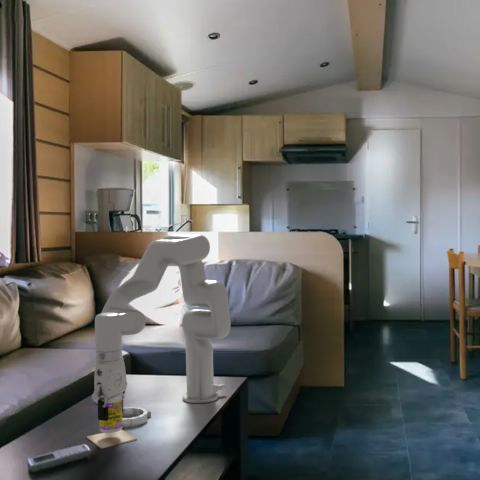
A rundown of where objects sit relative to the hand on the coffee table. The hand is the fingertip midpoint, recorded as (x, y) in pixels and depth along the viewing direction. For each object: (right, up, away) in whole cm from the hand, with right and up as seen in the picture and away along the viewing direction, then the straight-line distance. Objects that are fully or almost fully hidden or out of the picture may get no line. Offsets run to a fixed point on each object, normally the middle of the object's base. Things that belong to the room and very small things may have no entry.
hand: (110, 415), depth 186 cm
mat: (0, -7, 0) cm, 7 cm away
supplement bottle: (0, -4, 0) cm, 4 cm away
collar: (+2, -6, +16) cm, 18 cm away
